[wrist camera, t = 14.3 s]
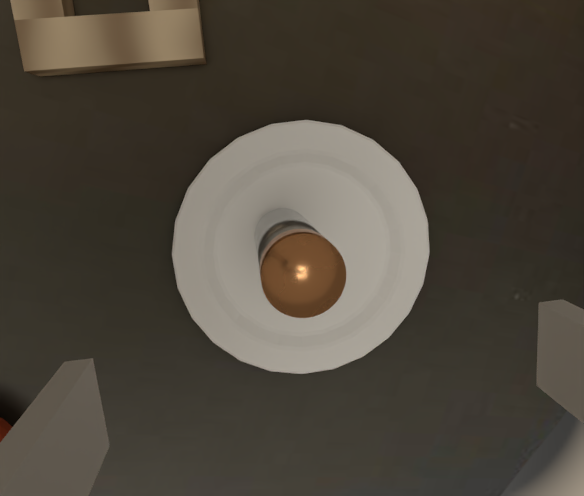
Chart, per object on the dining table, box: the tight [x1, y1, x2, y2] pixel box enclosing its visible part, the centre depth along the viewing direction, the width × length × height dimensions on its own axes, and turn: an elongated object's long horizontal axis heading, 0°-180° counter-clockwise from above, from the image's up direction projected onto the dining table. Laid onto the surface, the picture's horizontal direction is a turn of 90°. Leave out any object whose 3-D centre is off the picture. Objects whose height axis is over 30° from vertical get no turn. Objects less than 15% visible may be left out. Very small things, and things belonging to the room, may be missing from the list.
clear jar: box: [254, 208, 346, 318], centre depth 31 cm, size 4×4×13 cm
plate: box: [172, 120, 430, 374], centre depth 39 cm, size 21×21×2 cm
